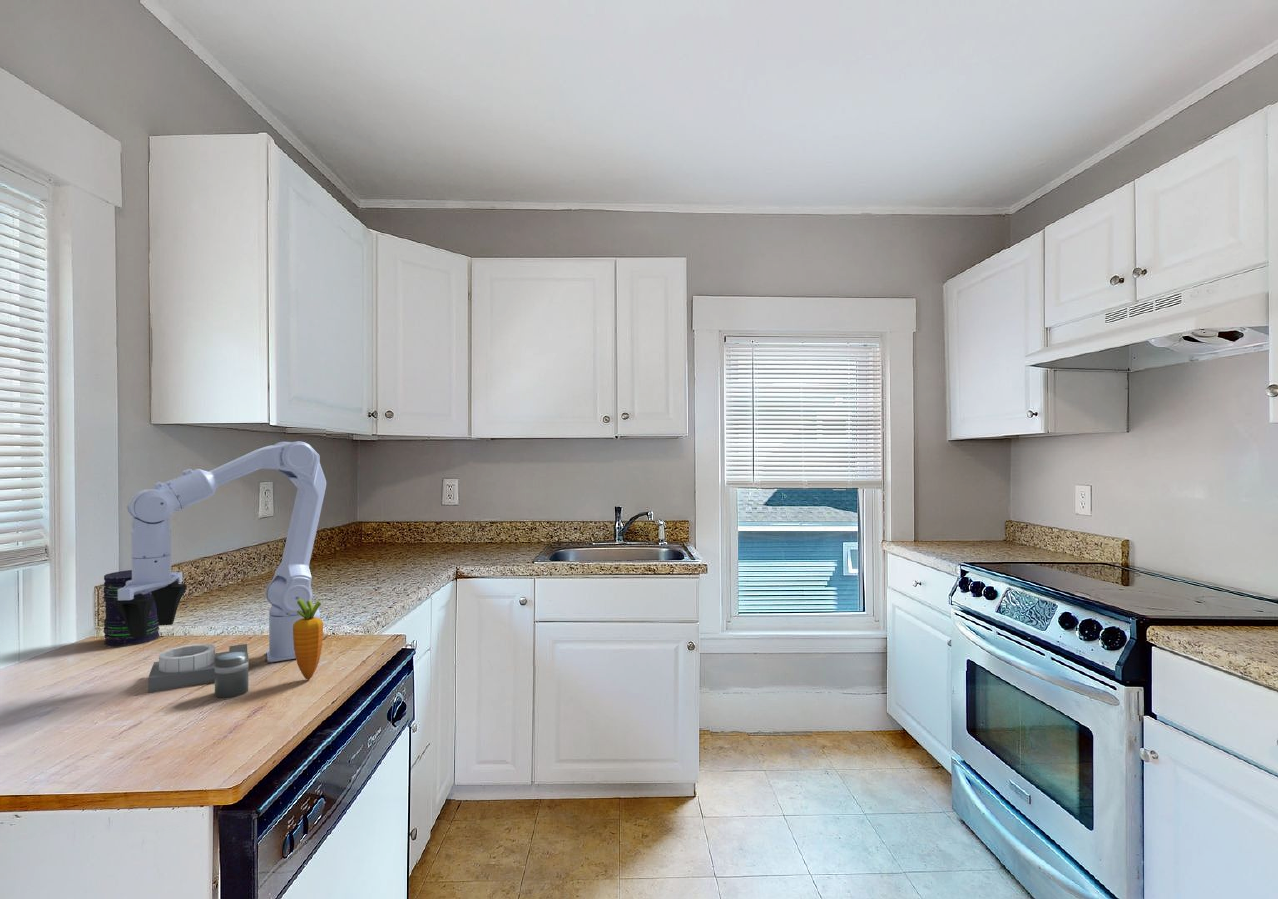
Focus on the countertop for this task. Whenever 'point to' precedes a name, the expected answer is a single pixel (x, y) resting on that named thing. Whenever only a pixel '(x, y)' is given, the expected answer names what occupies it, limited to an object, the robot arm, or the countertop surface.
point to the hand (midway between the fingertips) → (152, 630)
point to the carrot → (308, 638)
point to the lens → (231, 675)
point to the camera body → (186, 666)
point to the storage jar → (114, 620)
